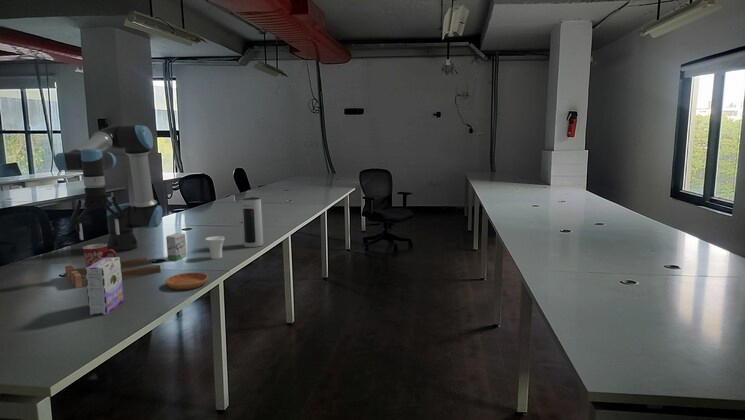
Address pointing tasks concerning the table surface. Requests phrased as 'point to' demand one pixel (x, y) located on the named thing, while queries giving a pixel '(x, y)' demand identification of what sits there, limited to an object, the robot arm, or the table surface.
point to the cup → (215, 246)
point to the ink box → (176, 246)
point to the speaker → (252, 222)
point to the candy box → (104, 285)
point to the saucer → (186, 281)
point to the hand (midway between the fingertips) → (100, 236)
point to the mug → (96, 253)
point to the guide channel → (78, 282)
